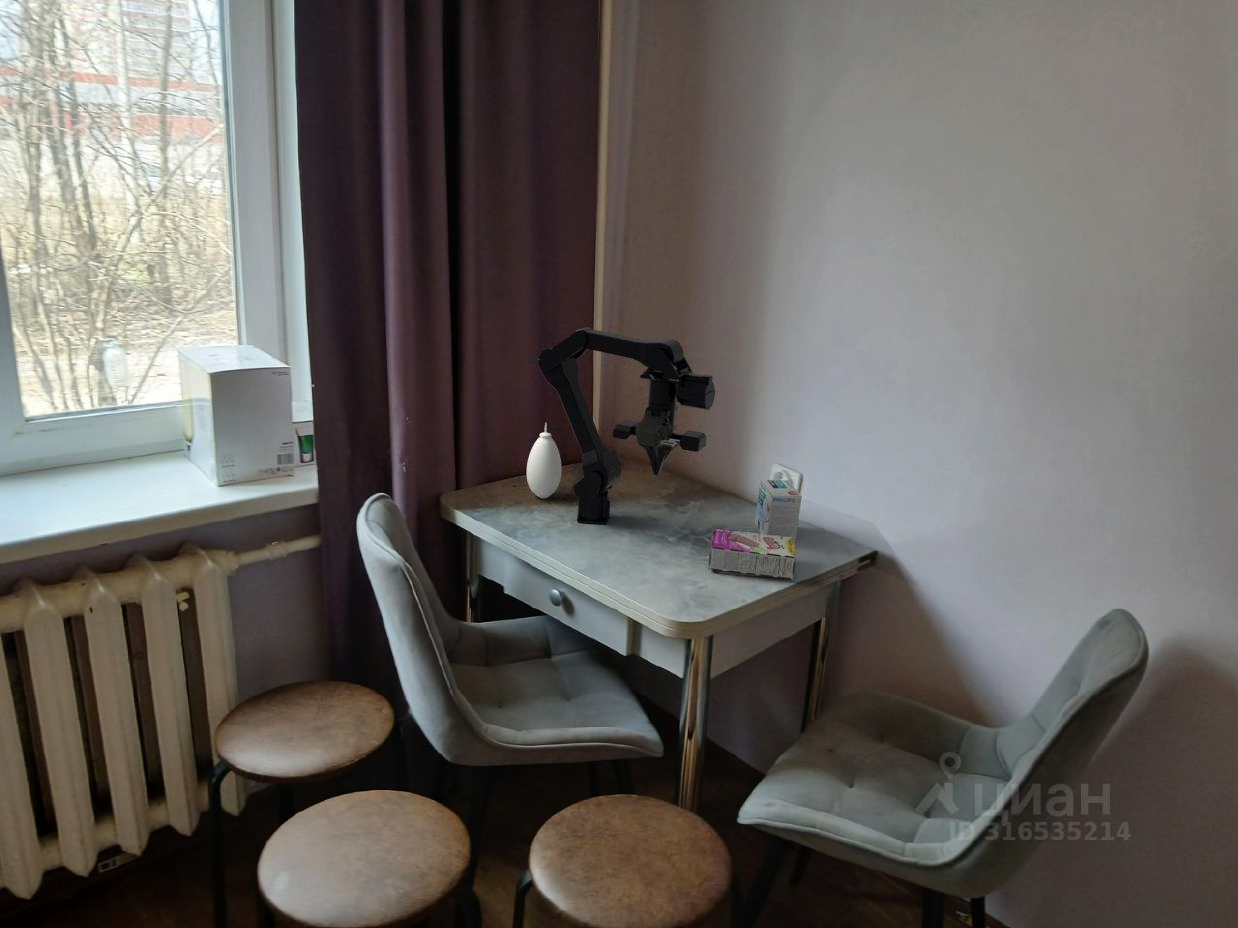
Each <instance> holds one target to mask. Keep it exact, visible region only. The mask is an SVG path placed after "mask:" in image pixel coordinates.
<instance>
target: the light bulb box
mask: <svg viewBox="0 0 1238 928" xmlns="http://www.w3.org/2000/svg"><path fill="white" fill-rule="evenodd" d="M758 491H759V492H758V497H757V498H758V499H757V504H756V505H757V507H756V515H755V520H754V525H755V527H756V528H757V530H758V532H759V533H760V534H769V535H778V536H786V537H794V541H795V542H796V539H797V533H798V527H799V526H798V525H799V518H800V511H801V510H800V509H801V503H802V498H803V497H802V495H801V493H800V492H799V491H798V490H797V489H796V488H795V485H793V484H792V482H790V480H788V479H787V480H785V479H784V480H782V479H774V480H773V479H760V480H759V490H758Z"/></svg>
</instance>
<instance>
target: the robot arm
mask: <svg viewBox="0 0 1238 928" xmlns="http://www.w3.org/2000/svg"><path fill="white" fill-rule="evenodd" d="M587 350H591V351H596V352H601V353H606V354H610V355H612V356H618V357H623V358H627V359H631V360H635V361H637V362H639V364H641V365H642V366H644V367H647V369H645V371H644V372H642V373H641V374H640V375H639V378H640V379H645V380H649V384H648V385H649V386H648V397H647V398H648V399H647V407H645V410H644V414H643V415H644V416H643V418H642V419H641V420H640V421H635V420H629V419H623V420H622V421H619V422H618V423H616V424H615V425H614V426H613V429H612V430H613V431H612V438H614V439H619V440H627V439H628V438H630V437H631V436H635V437H636V438H635V439H636V443H637V445H638V446H639V447H642V448H643V449H644V450H645V451H646V453H647V456H648V458H649V459H648V460H649V464H650V465H651V466H650V467H651V470H652V473H653V476H659V475H660V473H661V471H662V469H663V467H664V465H665V463H666V460H667V458H668V456H669V455H670V453H671V452H672V451H673V450H675V449H676V448H677V447H680V448H681V449H682V450H683V451H690V452H695V453H697V452H699V451H701V450H702V449H703V448H704V447H707V435H706V434H705V432H704V431H703V432H701V431H696V430H690V429H688V430H686V431H685V432H684V433H677V432H674V431H676V429H677V427H676V424H675V420H676V412H678V405H677V403H679V404H680V406H681V407H682V406H683V407H688V408H693V409H700V410H706V411H710V410H711V408H712V406H713V405H714V401H715V397H716V390H715V384H714V382H713V375H710V374H698V373H697V374H696V373H693V372H694V371H693V370H692V369H693V368H692V367H691V366H690V364H689V362H688V361H687V359H686V357H685V355H684V349H683V347H682V345H681V343H680V342H679V341H678V340H675V339H672V338H665V339H664V338H655V339H653V338H652V339H650V338H649V339H648V338H647V339H641V338H635V337H631V336H625V335H622V334H617V333H611V332H608V331H607V332H606V331H603V330H602V331H601V330H597V329H594V328H593V327H583V328H579V329H576V330H575V331H574V332H573V333H572V334H570V335H569V336H568V337H566V338H565V339H563V340H562V341H560V342H559V343H557V344H556V345H554V346H553V347H550V348H545V349H543V351H541V353H540V354H539V356H538V359H537V365H538V369H539V371H540V372H541V374H542V375H543V377H544V379H545V381H546V382H547V383H548V384H549V385H550V386H551V387H552V388H553V389H555V391H556V392H557V394H558V397H559V399H560V402H561V405H562V406H563V409H564V412H565V413H566V416H567V419H568V421H569V424H570V426H571V428H572V432H573V435H574V437H575V438H576V442H577V444H578V446H579V448H580V451H581V471H582V475H583V477H582V479H580V480H578V481H577V482H576V483H575V484H574V485H573V490H574V495H575V496H577V497H578V509H577V516H576V517H577V518H576V522H577V523H585V524H599V525H607V524H608V520H609V519H610V513H611V512H610V511H611V510H610V509H611V497H609V490H612V489H613V487H614V484H615V483H618V481H619V480H620V478H621V476H622V468H621V467H622V466H623V464H622V462H621V461H620V460H619V457H618V453H617V451H616V449H615V448H612V449H610V450H609V449H608V448H607V447H606V446H605V445H604V443H603V441H602V439H601V437H600V434H599V432H598V429H597V426H596V424H595V422H594V419H593V416H592V414H591V412H590V408H589V406H588V404H587V401H586V399H585V397H584V394H583V391H582V389H581V387H580V385H579V366H578V360H579V358H580V357H582V356H583V355H584V354H585V353H586V351H587Z"/></svg>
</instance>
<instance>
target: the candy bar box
mask: <svg viewBox="0 0 1238 928" xmlns="http://www.w3.org/2000/svg"><path fill="white" fill-rule="evenodd" d="M711 541H712V542H710V549H709V550H710V551H709V558H708V570H712V571H713V570H714V571H718V570H719V571H727V572H735V573H744V574H752V575H760V576H759V577H765V576H768V577H769V578H777V579H787V580H794V576H795V571H796V561H797V556H796V555H797V554H796V553H797V552H796V541H794V537H786V536H778V535H769V534H761V533H760V532H759V533H758V532H757V533H756V532H751V531H750V532H749V531H748V532H747V531H741V530H734V529H733V530H732V529H723V528H714V527H713V531H712V537H711ZM768 577H767V578H768Z"/></svg>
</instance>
